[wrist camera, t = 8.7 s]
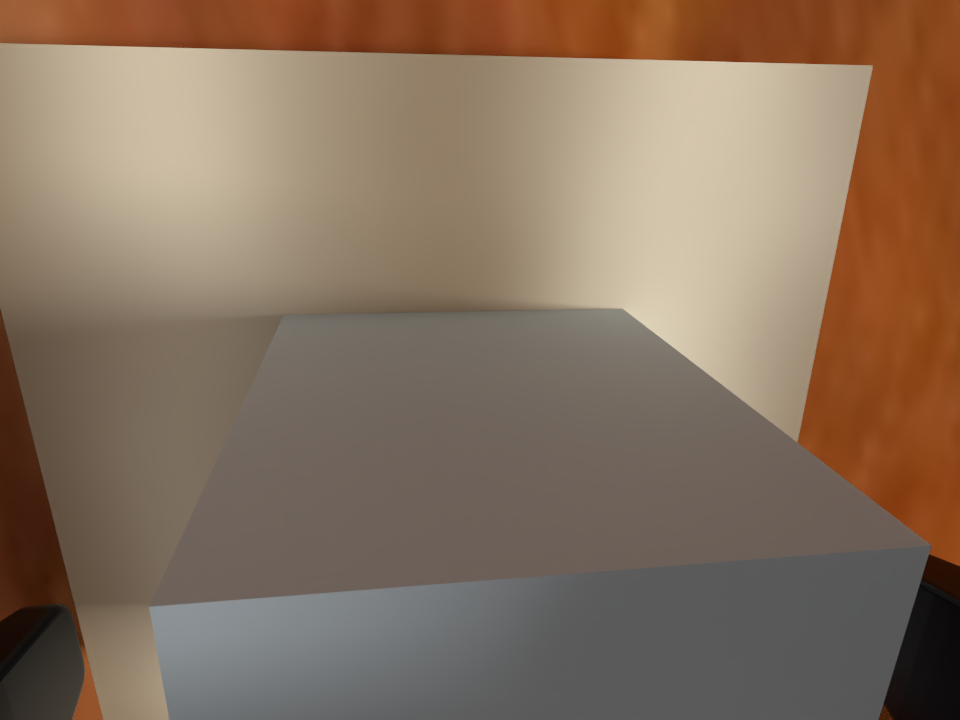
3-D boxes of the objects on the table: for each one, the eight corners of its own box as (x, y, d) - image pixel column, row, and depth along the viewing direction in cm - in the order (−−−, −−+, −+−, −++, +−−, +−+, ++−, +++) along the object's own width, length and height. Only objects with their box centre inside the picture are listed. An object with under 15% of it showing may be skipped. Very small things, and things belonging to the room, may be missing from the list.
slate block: (306, 603, 11) (237, 1098, 5) (283, 314, 9) (149, 606, 4) (595, 580, 12) (794, 996, 6) (623, 308, 10) (930, 545, 4)
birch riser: (180, 623, 16) (119, 784, 12) (77, 64, 11) (-67, 41, 8) (665, 577, 17) (744, 705, 14) (731, 78, 13) (873, 65, 9)
